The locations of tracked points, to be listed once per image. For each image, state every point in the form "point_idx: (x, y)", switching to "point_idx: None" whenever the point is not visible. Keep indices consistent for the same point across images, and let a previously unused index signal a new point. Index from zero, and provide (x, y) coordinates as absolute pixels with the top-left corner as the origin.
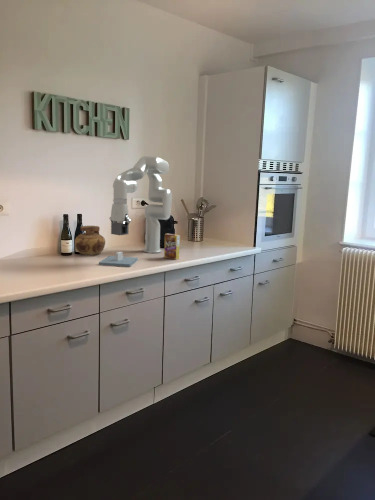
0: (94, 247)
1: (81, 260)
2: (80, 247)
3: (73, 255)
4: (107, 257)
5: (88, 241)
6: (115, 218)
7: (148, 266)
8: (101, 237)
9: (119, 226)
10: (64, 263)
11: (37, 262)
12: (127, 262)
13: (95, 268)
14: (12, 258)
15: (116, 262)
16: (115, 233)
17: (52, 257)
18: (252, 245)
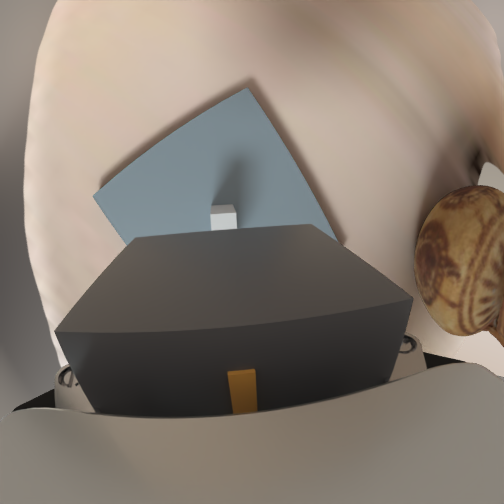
0: (435, 231)
1: (388, 115)
2: (471, 186)
3: (464, 177)
4: (321, 220)
5: (474, 214)
6: (331, 482)
7: (65, 273)
8: (461, 309)
9: (95, 297)
10: (377, 28)
11: (432, 8)
12: (135, 216)
13: (193, 34)
14: (491, 35)
15: (174, 163)
16: (223, 233)
17: (473, 99)
18: None
